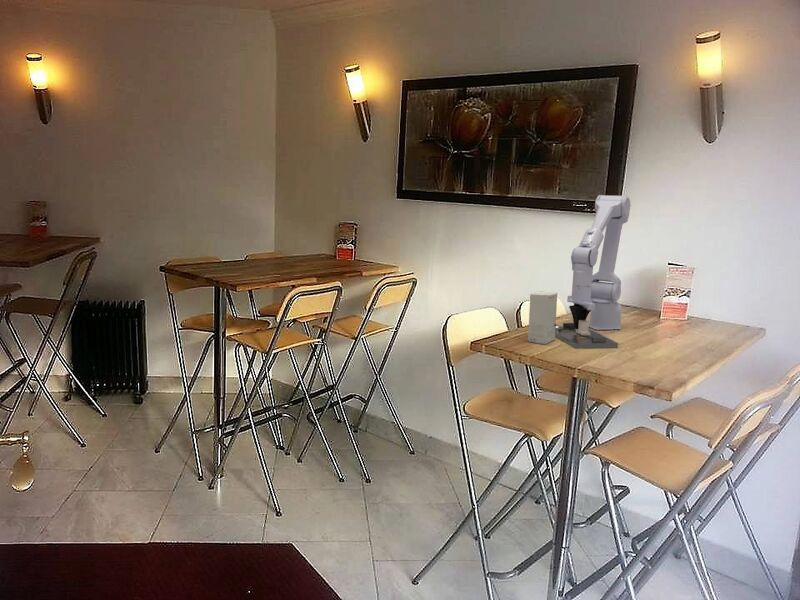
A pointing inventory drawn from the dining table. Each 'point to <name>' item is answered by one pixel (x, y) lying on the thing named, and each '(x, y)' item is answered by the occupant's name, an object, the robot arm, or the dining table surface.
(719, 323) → the dining table surface
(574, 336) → the console
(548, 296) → the skincare box
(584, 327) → the block
